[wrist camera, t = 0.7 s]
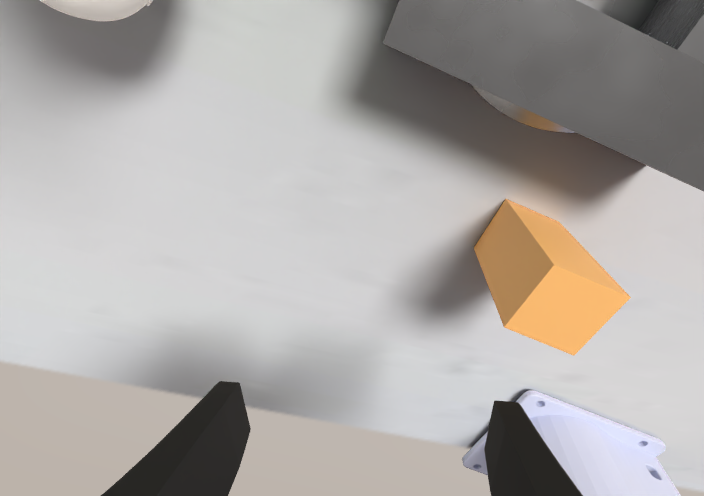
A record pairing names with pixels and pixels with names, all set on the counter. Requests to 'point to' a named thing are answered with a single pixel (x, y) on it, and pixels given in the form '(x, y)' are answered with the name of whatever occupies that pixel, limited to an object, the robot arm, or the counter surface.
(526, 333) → the orange rectangular block
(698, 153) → the grey slotted block
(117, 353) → the counter surface
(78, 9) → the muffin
